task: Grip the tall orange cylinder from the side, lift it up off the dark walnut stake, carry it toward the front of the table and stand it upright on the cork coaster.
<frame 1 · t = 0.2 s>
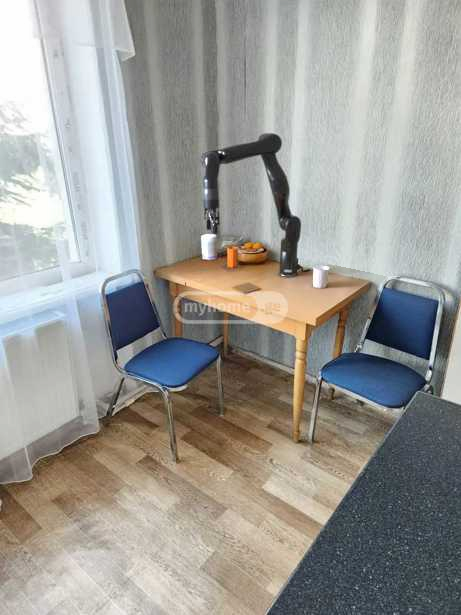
hand: (211, 231, 192), 29 cm above the table, tool pointing down, fingers open, 8 cm apart
white cup: (319, 286, 205), on the table
orange cylinder: (232, 265, 232), point 1 cm above the table, touching stake
stake: (232, 267, 233), on the table
cork coaster: (246, 288, 203), on the table
supplement tub: (209, 258, 249), on the table
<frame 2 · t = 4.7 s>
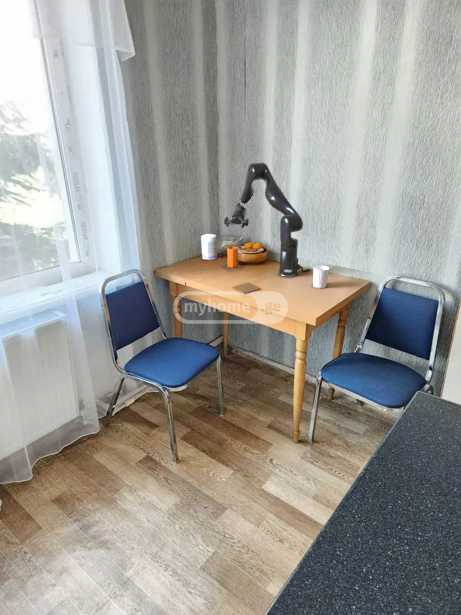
hand: (234, 226, 228), 23 cm above the table, tool horizontal, fingers open, 8 cm apart
nothing on the table moved.
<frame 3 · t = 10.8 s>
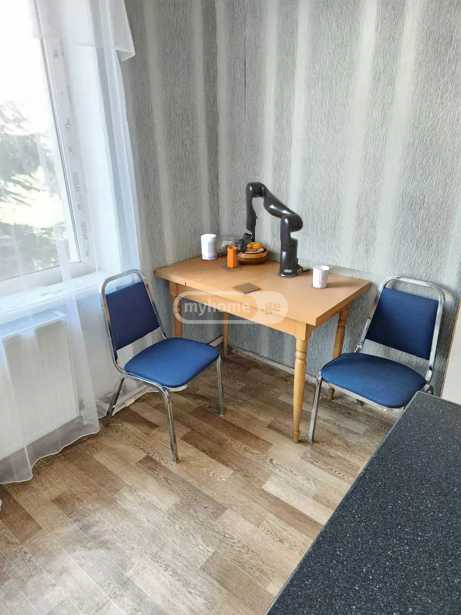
hand: (231, 252, 226), 10 cm above the table, tool horizontal, fingers closed on orange cylinder, 5 cm apart
orange cylinder: (232, 265, 232), point 1 cm above the table, touching gripper, stake
everything else where it was.
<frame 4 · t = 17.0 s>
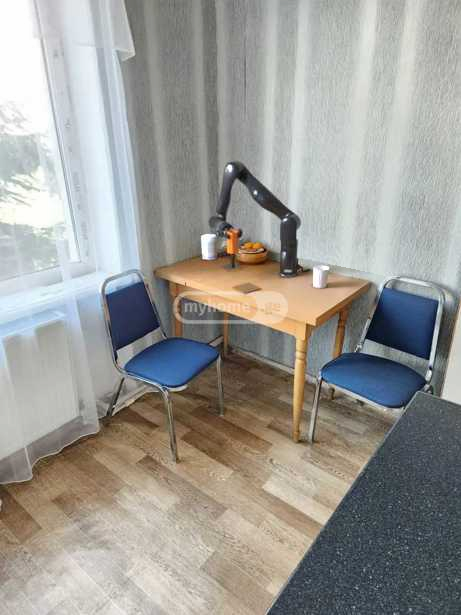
hand: (234, 236, 200), 25 cm above the table, tool horizontal, fingers closed on orange cylinder, 5 cm apart
orange cylinder: (232, 252, 206), point 16 cm above the table, touching gripper
everything else where it was.
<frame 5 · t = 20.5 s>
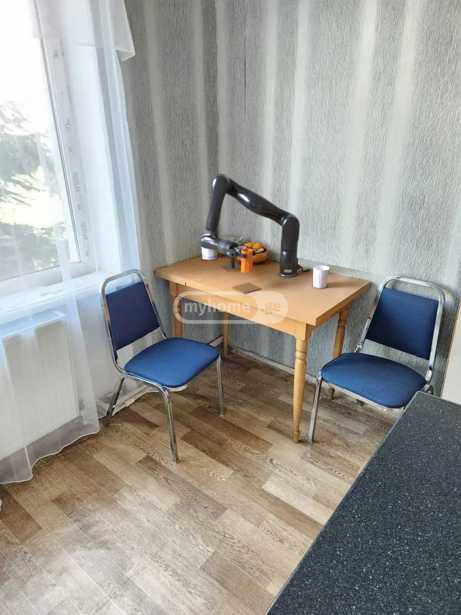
hand: (250, 255, 193), 18 cm above the table, tool horizontal, fingers closed on orange cylinder, 5 cm apart
orange cylinder: (246, 271, 199), point 9 cm above the table, touching gripper
everything else where it was.
when the fingers open (9 cm above the table, at t = 23.4 s): orange cylinder stays where it is, resting on cork coaster.
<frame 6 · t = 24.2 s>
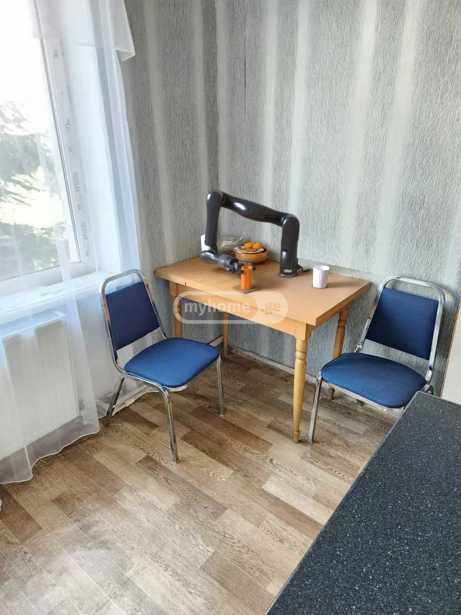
hand: (249, 270, 197), 10 cm above the table, tool horizontal, fingers open, 8 cm apart
orange cylinder: (246, 287, 202), resting on cork coaster
everything else where it was.
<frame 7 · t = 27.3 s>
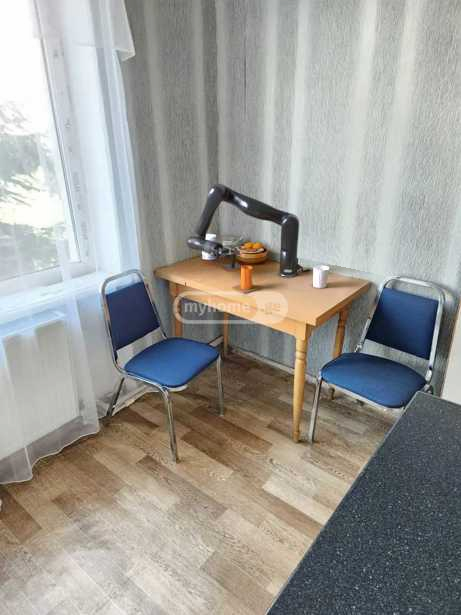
hand: (233, 254, 204), 15 cm above the table, tool horizontal, fingers open, 8 cm apart
nothing on the table moved.
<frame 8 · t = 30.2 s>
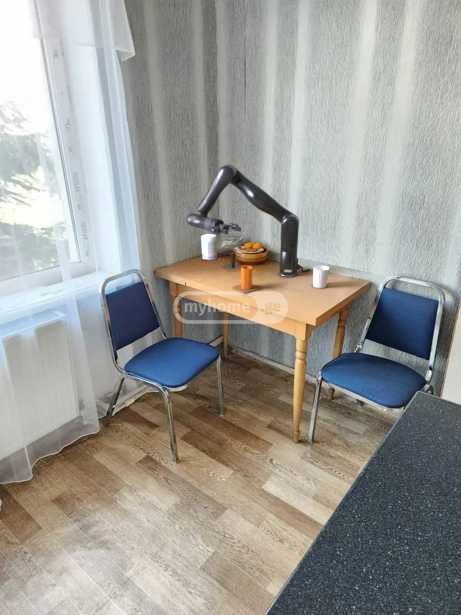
hand: (234, 230, 198), 28 cm above the table, tool horizontal, fingers open, 8 cm apart
nothing on the table moved.
at the end: orange cylinder 0.1 cm off-centre on the cork coaster, point 0.4 cm above the cork coaster's base; orange cylinder tilted 0°; the gripper is holding nothing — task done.
